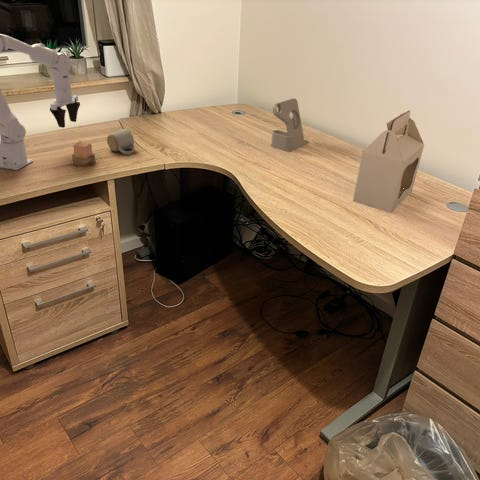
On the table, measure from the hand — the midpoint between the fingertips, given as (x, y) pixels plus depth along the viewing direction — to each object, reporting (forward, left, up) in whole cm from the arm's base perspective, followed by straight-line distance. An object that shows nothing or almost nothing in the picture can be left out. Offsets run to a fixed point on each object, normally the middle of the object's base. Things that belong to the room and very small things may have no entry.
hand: (67, 124), depth 178 cm
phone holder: (+41, -79, -10) cm, 90 cm away
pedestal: (-10, -12, -10) cm, 18 cm away
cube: (-10, -12, -7) cm, 17 cm away
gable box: (+3, -119, -10) cm, 119 cm away
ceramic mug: (+7, -19, -10) cm, 23 cm away
